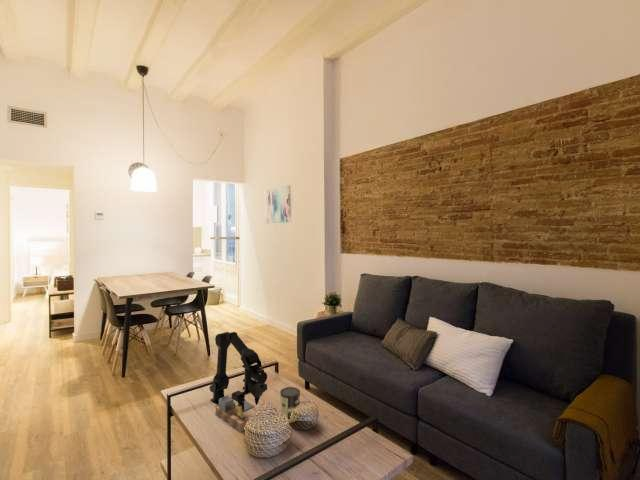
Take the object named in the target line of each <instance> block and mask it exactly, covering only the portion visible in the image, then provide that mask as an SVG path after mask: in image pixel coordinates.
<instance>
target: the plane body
mask: <svg viewBox="0 0 640 480" xmlns="http://www.w3.org/2000/svg"><path fill="white" fill-rule="evenodd" d="M235 413H236V409H232V410H230V411H227V412H224V411H222V410H221V409H219V405H218V406H215V414H214V415H215V416H216V417H217V418H219V419H221V420H222V421H223V422H225V423H226V424H228V425H229V426H230V427H232V428H233V429H235V430H236V431H237V432H239V433H242V432H244V431H245V430H244V427H245V425H246V423H247V421H248V420H249V418H250V417H249V416H247V415H245V414H244V413H243V416H244V417H243V418H241V417H239V416H238V415H236V414H235Z"/></svg>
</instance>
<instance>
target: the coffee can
mask: <svg viewBox="0 0 640 480" xmlns="http://www.w3.org/2000/svg"><path fill="white" fill-rule="evenodd" d="M279 393H280V394H279V395H280V397H279V398H280V403H279V412H280V411H282V412H283V413H284V414H285V415H286V416H287V418H288V419H290V416H291V413H292V411H293V410H294V409H295V408H296V407H297V406H298V405H299V404H300V401H301V400H300V399H301V398H300V397H301V396H300V395H301V390H300V389H299V388H297V387H295V386H289V387H284V388H282V389H280V392H279Z"/></svg>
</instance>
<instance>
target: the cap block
mask: <svg viewBox="0 0 640 480" xmlns="http://www.w3.org/2000/svg"><path fill="white" fill-rule="evenodd" d="M234 401H235V400H233V399H232V398H231V397H230V396H229V395H224V397H222V398H220V399H219V403H218V406H219V409H221V410H222V411H224V412H227V411H230V410H232V409H234V404H235V403H234Z"/></svg>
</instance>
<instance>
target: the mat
mask: <svg viewBox="0 0 640 480" xmlns="http://www.w3.org/2000/svg"><path fill="white" fill-rule="evenodd" d="M236 403H238V402H237V401H236V402H235V403H234V409H236V406H235V404H236ZM238 404H239V403H238ZM254 407H255V405H253V404H252V403H250V402H249V401H246V400H245V401H244V411H242V413H244V412H246V411H248V410H251V409H252V408H254Z"/></svg>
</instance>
